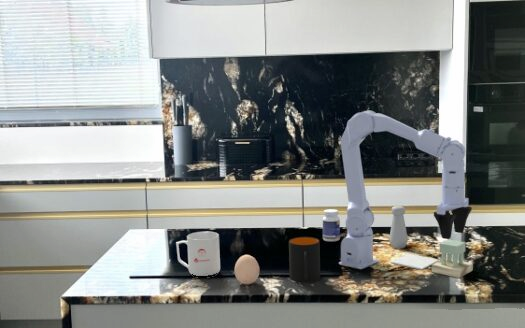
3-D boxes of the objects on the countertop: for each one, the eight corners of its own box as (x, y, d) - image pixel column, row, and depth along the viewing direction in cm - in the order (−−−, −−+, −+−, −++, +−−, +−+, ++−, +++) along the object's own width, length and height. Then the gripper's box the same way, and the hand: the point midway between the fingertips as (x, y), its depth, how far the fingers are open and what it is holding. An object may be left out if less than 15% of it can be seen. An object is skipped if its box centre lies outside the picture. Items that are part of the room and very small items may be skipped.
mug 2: (290, 288, 154) (289, 249, 152) (289, 273, 166) (288, 237, 164) (322, 287, 154) (322, 248, 152) (319, 272, 166) (318, 236, 164)
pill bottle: (340, 241, 196) (340, 212, 194) (323, 242, 196) (323, 212, 194) (338, 237, 201) (338, 208, 200) (322, 237, 201) (321, 208, 200)
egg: (231, 282, 160) (230, 253, 159) (254, 278, 163) (252, 250, 161) (240, 289, 154) (239, 260, 153) (263, 285, 157) (262, 256, 155)
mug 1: (220, 267, 172) (219, 230, 171) (220, 278, 164) (218, 238, 162) (179, 269, 172) (177, 232, 170) (176, 280, 163) (174, 240, 162)
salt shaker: (394, 243, 192) (394, 203, 190) (411, 245, 188) (411, 205, 186) (385, 247, 187) (385, 207, 185) (402, 250, 184) (402, 209, 182)
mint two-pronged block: (456, 268, 159) (457, 246, 158) (439, 264, 162) (439, 243, 161) (465, 263, 162) (465, 242, 161) (448, 260, 166) (448, 239, 165)
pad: (421, 269, 165) (421, 268, 164) (390, 263, 171) (390, 261, 171) (439, 261, 172) (439, 259, 172) (408, 254, 179) (408, 253, 178)
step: (459, 277, 157) (459, 270, 157) (431, 271, 162) (431, 264, 162) (472, 270, 163) (472, 263, 162) (445, 264, 168) (445, 257, 168)
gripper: (454, 192, 151) (454, 243, 153) (479, 183, 162) (478, 232, 164) (429, 189, 156) (429, 239, 158) (454, 181, 166) (454, 228, 168)
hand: (452, 235), depth 161 cm, fingers open, 7 cm apart
